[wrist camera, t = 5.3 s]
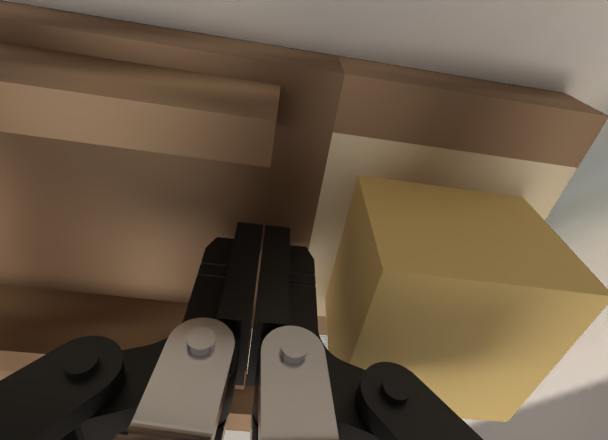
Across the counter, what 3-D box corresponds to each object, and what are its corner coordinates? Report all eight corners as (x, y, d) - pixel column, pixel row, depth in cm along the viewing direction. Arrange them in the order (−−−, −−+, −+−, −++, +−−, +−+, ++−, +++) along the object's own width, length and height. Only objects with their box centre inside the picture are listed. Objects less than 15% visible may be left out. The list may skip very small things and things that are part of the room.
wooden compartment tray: (565, 93, 12) (608, 116, 10) (400, 404, 21) (409, 442, 20) (-255, -41, 10) (-371, -41, 8) (-31, 370, 19) (-63, 409, 17)
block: (523, 197, 11) (614, 296, 8) (459, 313, 14) (507, 421, 11) (357, 174, 11) (383, 269, 8) (324, 299, 14) (332, 408, 10)
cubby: (280, 85, 10) (275, 121, 7) (251, 327, 15) (244, 389, 12) (-351, -13, 8) (-568, -2, 6) (-144, 290, 13) (-226, 352, 11)
